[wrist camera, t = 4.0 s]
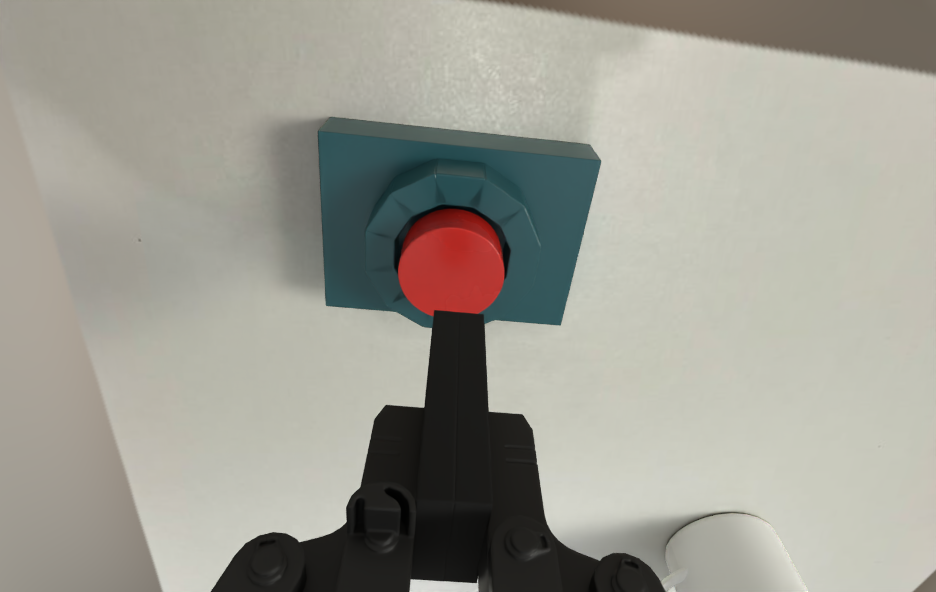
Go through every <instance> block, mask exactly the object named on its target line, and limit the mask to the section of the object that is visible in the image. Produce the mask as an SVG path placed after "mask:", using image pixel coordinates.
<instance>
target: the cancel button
mask: <svg viewBox="0 0 936 592" xmlns="http://www.w3.org/2000/svg"><path fill="white" fill-rule="evenodd" d="M398 278H399V283H400V286H401V289H402V291H403V293H404V295H405V296H406V297H407V299H408V300H409V301H410V302H411V303H412V304H413V305H414V306H415V307H416V308H418V309H419V310H421V311H422V312H424V313H426V314H428V315H431V316H434V310H441V311H452V312H464V313H475V314H478V313H480V312H481V311H483V310H484V309H486V308H487V307H488V306H490V305H491V304H492V303H493V302H494V300H495V299H496V298H497V296H498V295H499V293H500V291H501V289H502V286H503V282H504V264H503V256H502V249H501V244H500V240H499V238H498V236H497V234H496V232H495V230H494V229H493V228H492V226H491V225H490V224H489V223H488V222H487V221H485V220H484V219H483V218H481V217H480V216H478V215H476V214H474V213H472V212H469V211H465V210H460V209H442V210H437V211H434V212H431V213H429V214H427V215H425V216H423V217H422V218H420V219H419V220H418V221H417V222H416V223H414V225H413V226H412V227H411V228H410V230H409V231H408V233H407V235H406V237H405V239H404V243H403V247H402V252H401V256H400V261H399V266H398Z"/></svg>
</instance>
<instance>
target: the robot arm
mask: <svg viewBox="0 0 936 592" xmlns="http://www.w3.org/2000/svg"><path fill="white" fill-rule="evenodd" d="M346 515H347V523H345V524H344V525H343V526H342V527H341V528H340V529H338V530H336V531H335V532H333V533H331V534H328V535H326V536H323V537H319V538H315V539H311V540H307V541H303V542H298V540H297V539H295V538H294V537H292V536H290V535H288V534H285V533H276V532H272V533H268V534H264V535H260V536H258V537H256V538H254V539H253V540H251V541H249V542H247V543H246V544H245V545H244V546H243V547H242V548H241V549H240V550H239V551H238V552H237V554H236V555H235V556H234V558H233V559H232V561H231V562H230V564H229V565H228V567H227V568H226V570H225V571H224V573H223V574H222V576H221V577H220V579H219V580H218V582H217V583H216V585H215V586H214V588H213V589H212V591H211V592H409V591H410V580H411V579H416V580H433V581H450V582H467V583H477V579H478V582H479V592H666V591H665V589H664V587H663V585H662V583H661V582H660V580H659V578H658V577H657V576H656V574H655V573H654V572H653V570H652V569H651V568H650V567H649V566H648V565H647V564H645V563H644V562H643V561H641V560H640V559H639V558H636V557H634V556H631V555H629V554H626V553H612V554H610V555H607V556H605V557H603V558H602V559H601V561H599V560H596V559H593V558H591V557H588V556H586V555H583V554H581V553H578V552H576V551H574V550H572V549H570V548H568V547H566V546H565V545H564V544H562V543H561V542H560V541H558V539H557V538H556V537H555V536H554V535H553V534H552V532H551V531H550V529H549V527H548V525H547V523H546V519H545V515H544V508H543V501H542V494H541V487H540V480H539V473H538V465H537V458H536V451H535V444H534V437H533V430H532V428H531V427H530V425H529V424H528V422H527V421H526V419H525V418H524V416H523V414H510V413H497V412H489V411H488V390H487V368H486V347H485V325H484V314H475V313H464V312H452V311H441V310H434V316H433V326H432V336H431V346H430V356H429V366H428V376H427V387H426V397H425V407H424V408H418V407H405V406H392V405H385V407H384V408H383V409H382V410H381V412H380V413H379V414H378V415H377V417H376V418H375V419H374V424H373V429H372V434H371V440H370V444H369V448H368V454H367V458H366V463H365V468H364V473H363V477H362V482H361V487H360V488H359V489H358V490H357V491H356V492H355V493H354V494H353V495H352V496H351V498H350V500H349V502H348V504H347V507H346Z"/></svg>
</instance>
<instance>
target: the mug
mask: <svg viewBox="0 0 936 592" xmlns="http://www.w3.org/2000/svg"><path fill="white" fill-rule="evenodd" d="M665 560H666V563H667V566H668V569H669V572H670V575H669V576H667V577H666V578H664V579H663V580H662V581H661V583H662V585H663V587H664V589H665V591H666V592H667V591H668V590H669V589H671V588H672V587H673V586H675V589H676V592H809V591H808V589H807V587H806V586H805V584H804V582H803V580H802V578H801V576H800V575H799V573H798V571H797V569H796V567H795V566H794V564H793V562H792V560H791V558H790V556H789V555H788V553H787V551H786V549H785V547H784V546H783V544H782V542H781V540H780V538H779V536H778V535H777V533H776V531H775V530H774V529H773V528H772V526H771V525H770V524H768V523H767V522H765V521H764V520H762V519H760V518H759V517H755V516H751V515H748V514H736V513H730V514H719V515H714V516H710V517H706V518H702V519H700V520H698V521H695V522H693V523H690V524H688V525H687V526H685V527H684V528H682V529H681V530H679V531H678V532H677V533H676V534H675V535H674V536H673V537H672V538H671V539H670V541H669V543H668V544H667V546H666V554H665Z"/></svg>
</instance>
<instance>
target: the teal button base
mask: <svg viewBox="0 0 936 592" xmlns="http://www.w3.org/2000/svg"><path fill="white" fill-rule="evenodd" d="M318 147H319V169H320V190H321V212H322V234H323V256H324V277H325V299H326V306H333V307H345V308H357V309H369V310H381V311H393V312H398V313H399V314H401V315H403V316H405V317H406V318H408V319H410V320H412V321H413V322H415V323H417V324H419V325H420V326H422V327H428V328H432V326H433V316H431V315H428V314H426V313H424V312H422V311H421V310H419V309H418V308H416V307H415V306H414V305H413V304H412V303H411V302H410V301H409V300H408V299H407V297H406V296H405V295H404V293H403V291H402V289H401V286H400V283H399V278H398V266H399V261H400V256H401V252H402V247H403V243H404V239H405V237H406V235H407V233H408V231H409V230H410V228H411V227H412V226H413V225H414V223H416V222H417V221H418V220H419V219H420V218H422V217H423V216H425V215H427V214H429V213H431V212H434V211H437V210H442V209H460V210H465V211H469V212H472V213H474V214H476V215H478V216H480V217H481V218H483V219H484V220H485V221H487V222H488V223H489V224H490V225H491V226H492V228H493V229H494V230H495V232H496V234H497V236H498V238H499V240H500V244H501V249H502V256H503V264H504V282H503V286H502V289H501V291H500V293H499V295H498V296H497V298H496V299H495V300H494V302H493V303H492V304H491V305H490V306H488V307H487V308H486V309H484V310H483V311H481V312H480V313H478V314H484V324H485V323H488V322H491V321H494V320H501V321H513V322H525V323H537V324H549V325H561V322H562V318H563V314H564V310H565V306H566V302H567V298H568V294H569V290H570V285H571V281H572V277H573V273H574V269H575V265H576V261H577V257H578V253H579V249H580V245H581V241H582V237H583V233H584V229H585V225H586V221H587V217H588V213H589V209H590V205H591V201H592V197H593V193H594V189H595V185H596V181H597V177H598V173H599V169H600V165H601V160H600V158H599V157H598V155H597V154H596V153H595V151H594V150H593V148H592V147H591V145H589V144H580V143H570V142H561V141H552V140H542V139H533V138H523V137H514V136H505V135H495V134H486V133H476V132H467V131H458V130H448V129H439V128H429V127H420V126H411V125H401V124H392V123H382V122H373V121H364V120H354V119H345V118H335V117H330V118H329V119H328V120H327V121H326V123H325V124H324V125H323V126H322V127H321V128H320V129H319V131H318Z"/></svg>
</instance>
